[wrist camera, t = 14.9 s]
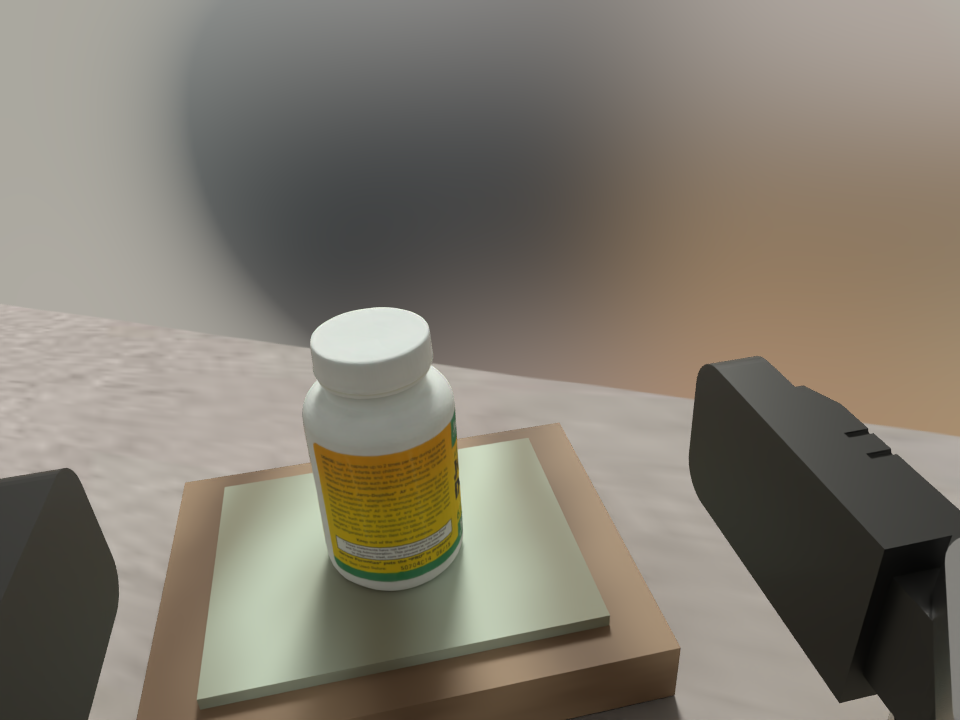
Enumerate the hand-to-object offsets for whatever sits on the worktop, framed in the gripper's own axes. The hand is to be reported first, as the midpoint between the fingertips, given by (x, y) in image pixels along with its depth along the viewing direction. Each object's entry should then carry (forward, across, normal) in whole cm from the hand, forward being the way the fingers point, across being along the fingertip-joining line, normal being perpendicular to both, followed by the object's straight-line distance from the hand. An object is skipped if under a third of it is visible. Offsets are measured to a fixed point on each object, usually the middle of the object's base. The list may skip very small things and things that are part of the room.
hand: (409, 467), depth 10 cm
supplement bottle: (+15, 0, +16) cm, 21 cm away
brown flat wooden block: (+15, 0, +18) cm, 23 cm away
